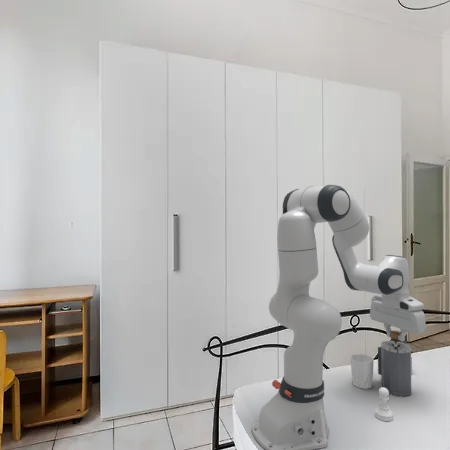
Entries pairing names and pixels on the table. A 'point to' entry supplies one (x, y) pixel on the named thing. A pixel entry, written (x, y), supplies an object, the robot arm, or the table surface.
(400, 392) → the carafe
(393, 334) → the plunger
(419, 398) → the table surface
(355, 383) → the white cup
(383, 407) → the chess pawn
